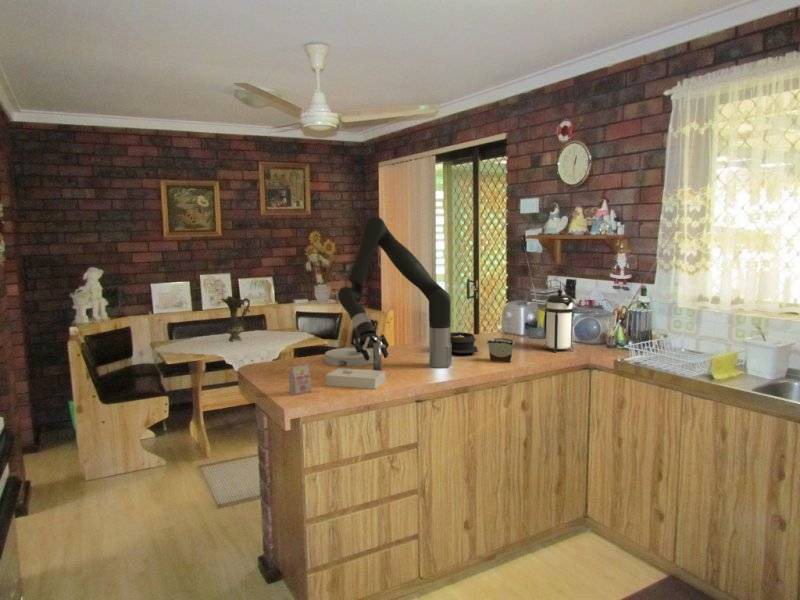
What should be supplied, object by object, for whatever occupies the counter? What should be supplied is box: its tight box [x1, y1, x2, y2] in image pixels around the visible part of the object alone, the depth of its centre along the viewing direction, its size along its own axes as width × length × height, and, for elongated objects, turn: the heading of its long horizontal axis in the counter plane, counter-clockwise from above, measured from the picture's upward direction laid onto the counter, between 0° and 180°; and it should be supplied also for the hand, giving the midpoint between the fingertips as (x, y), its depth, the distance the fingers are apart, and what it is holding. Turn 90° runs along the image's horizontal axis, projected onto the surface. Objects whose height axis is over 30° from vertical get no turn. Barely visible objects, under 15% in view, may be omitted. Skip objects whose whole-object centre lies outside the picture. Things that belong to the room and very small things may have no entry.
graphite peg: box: [372, 342, 382, 371], centre depth 230 cm, size 3×3×14 cm
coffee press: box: [542, 289, 575, 353], centre depth 281 cm, size 17×16×30 cm
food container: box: [486, 337, 515, 364], centre depth 258 cm, size 12×6×10 cm, turn 65°
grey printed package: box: [288, 364, 312, 396], centre depth 209 cm, size 4×7×10 cm, turn 128°
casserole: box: [450, 331, 479, 355], centre depth 279 cm, size 25×19×8 cm
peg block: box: [325, 367, 386, 390], centre depth 222 cm, size 20×12×4 cm, turn 73°
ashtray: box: [324, 347, 373, 367], centre depth 262 cm, size 23×23×4 cm
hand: (377, 358), depth 230 cm, fingers open, 8 cm apart
